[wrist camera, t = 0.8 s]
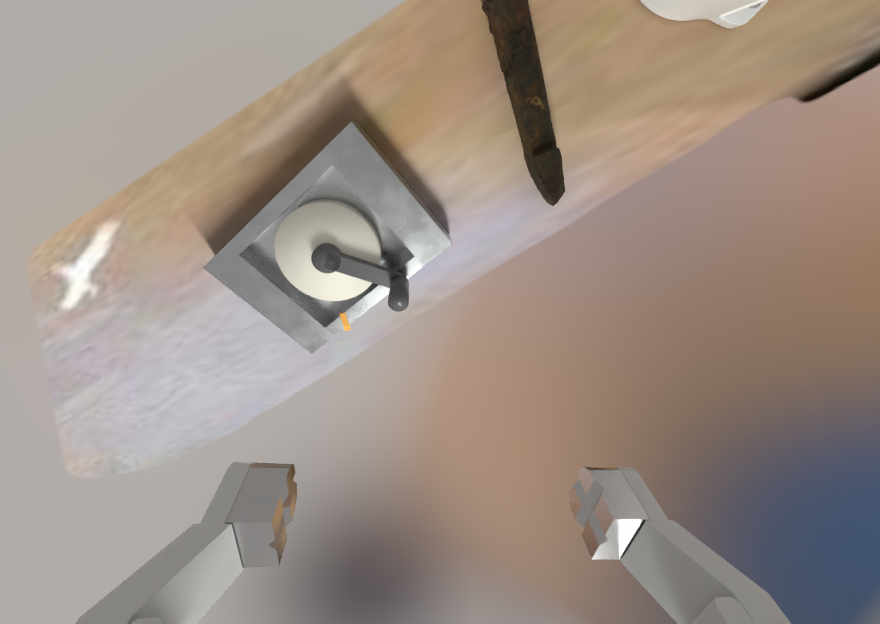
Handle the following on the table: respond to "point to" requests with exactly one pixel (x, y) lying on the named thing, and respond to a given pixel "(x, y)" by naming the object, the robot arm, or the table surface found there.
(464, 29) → the table surface
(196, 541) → the robot arm
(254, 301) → the panel
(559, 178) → the hand tool
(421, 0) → the table surface
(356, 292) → the crank
